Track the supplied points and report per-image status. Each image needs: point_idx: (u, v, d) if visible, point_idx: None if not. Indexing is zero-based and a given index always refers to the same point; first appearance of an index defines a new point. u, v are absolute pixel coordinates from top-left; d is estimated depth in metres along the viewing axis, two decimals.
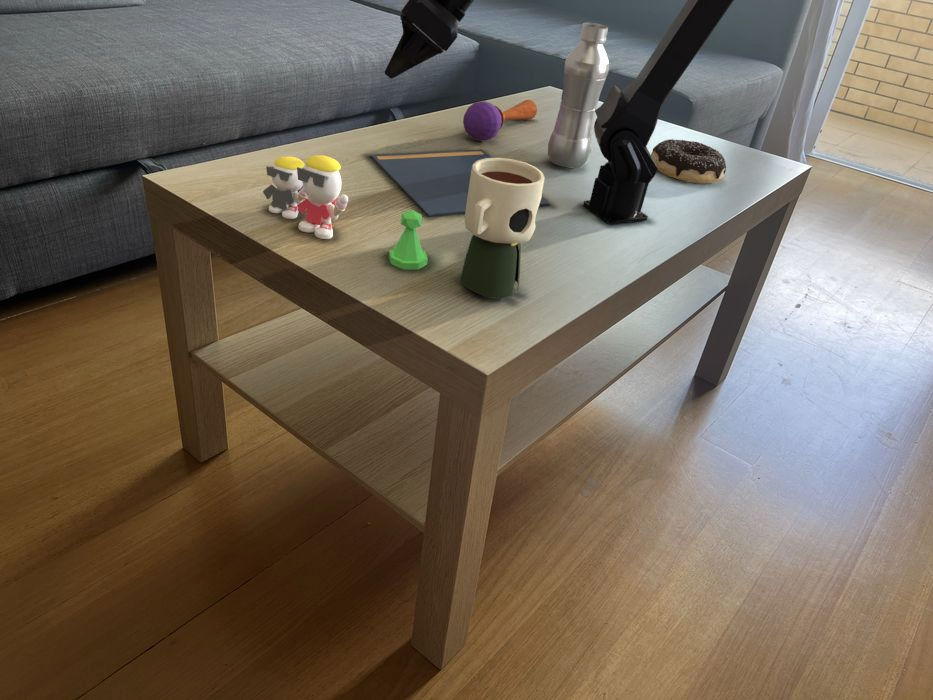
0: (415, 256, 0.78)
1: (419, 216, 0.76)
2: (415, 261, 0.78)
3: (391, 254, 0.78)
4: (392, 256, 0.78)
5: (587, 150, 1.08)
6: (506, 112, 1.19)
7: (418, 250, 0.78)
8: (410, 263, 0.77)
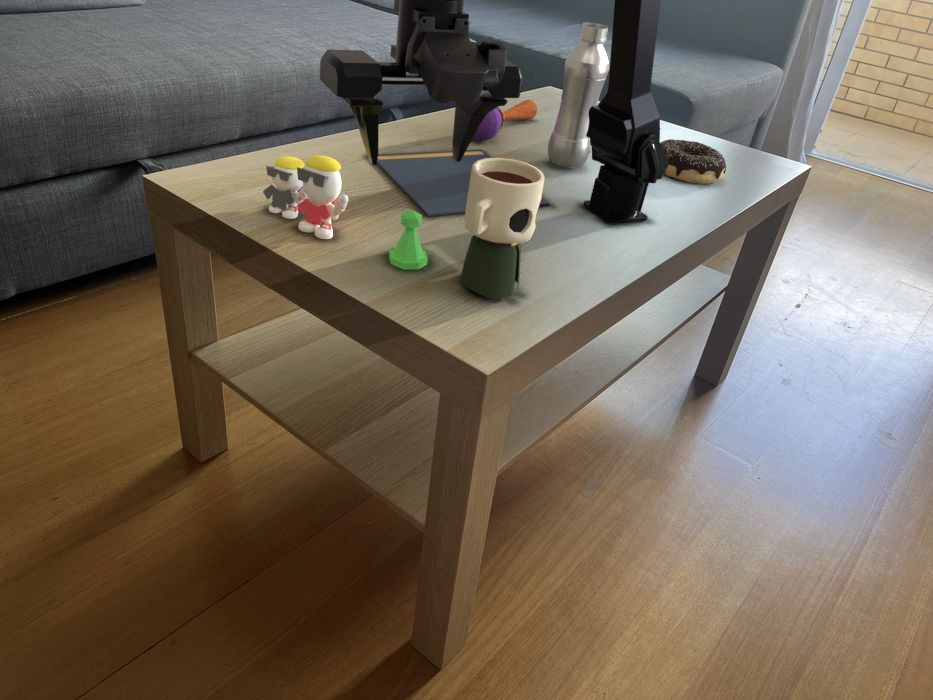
0: (415, 256, 0.78)
1: (419, 216, 0.76)
2: (415, 261, 0.78)
3: (391, 254, 0.78)
4: (392, 256, 0.78)
5: (587, 150, 1.08)
6: (506, 112, 1.19)
7: (418, 250, 0.78)
8: (410, 263, 0.77)
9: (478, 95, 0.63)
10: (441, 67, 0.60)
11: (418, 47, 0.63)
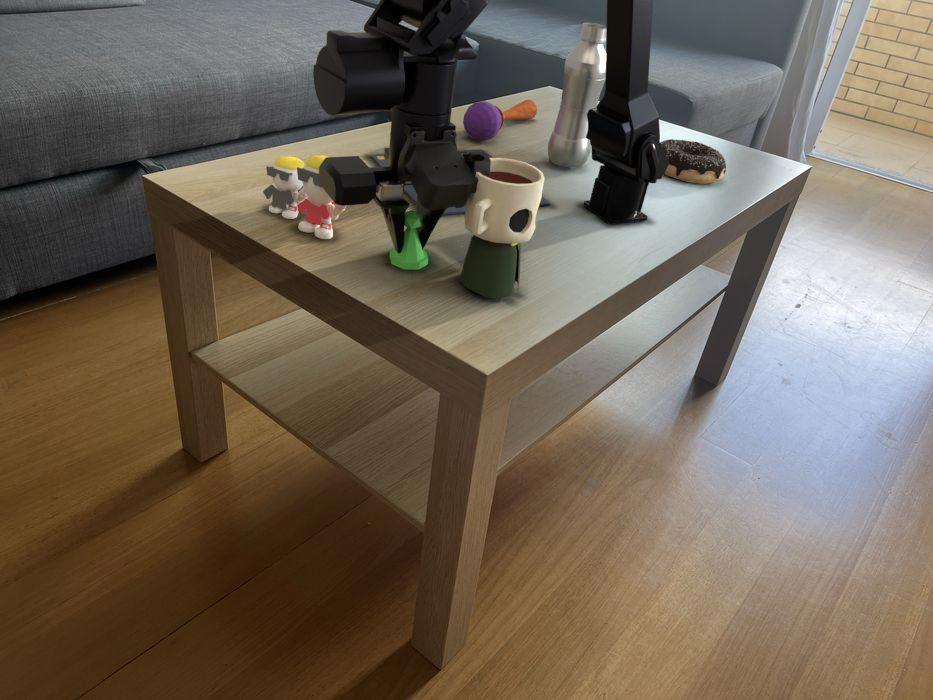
0: (416, 256, 0.78)
1: (419, 216, 0.76)
2: (416, 261, 0.78)
3: (392, 254, 0.78)
4: (393, 256, 0.78)
5: (587, 150, 1.08)
6: (506, 112, 1.19)
7: (418, 250, 0.78)
8: (410, 263, 0.77)
9: (465, 201, 0.69)
10: (431, 181, 0.66)
11: (409, 158, 0.68)
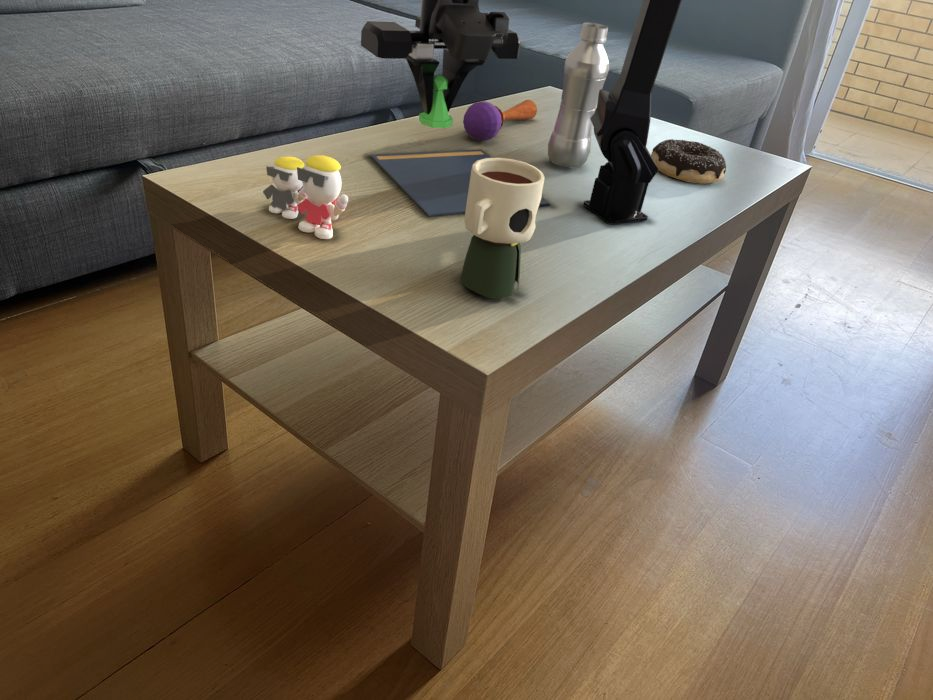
0: (442, 116, 0.90)
1: (446, 79, 0.88)
2: (442, 120, 0.90)
3: (421, 116, 0.90)
4: (422, 117, 0.90)
5: (587, 150, 1.08)
6: (506, 112, 1.19)
7: (445, 111, 0.90)
8: (438, 122, 0.89)
9: (487, 54, 0.81)
10: (460, 31, 0.78)
11: (440, 17, 0.80)
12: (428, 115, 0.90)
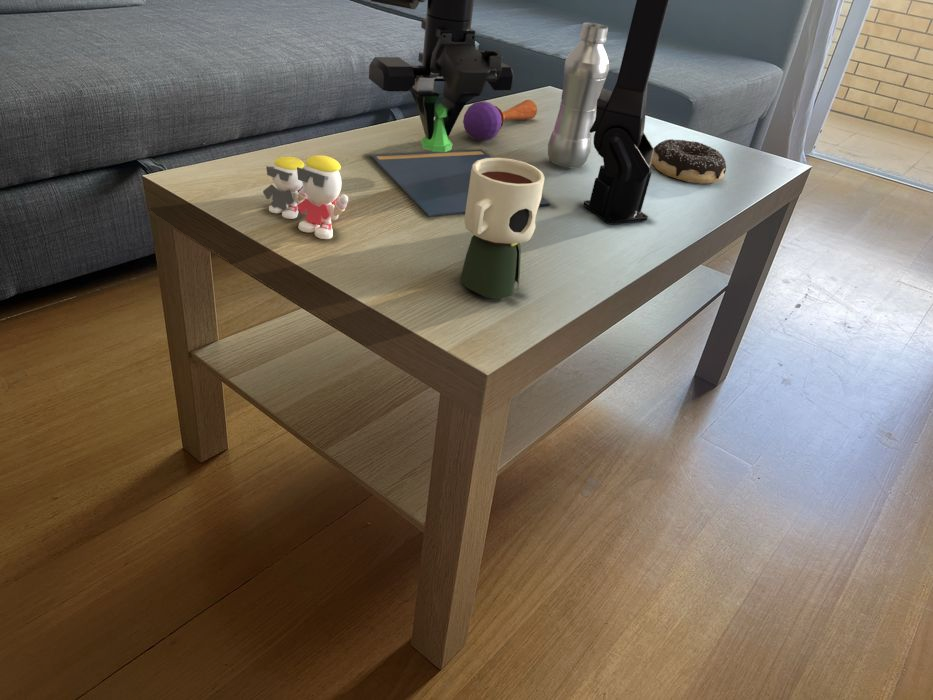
0: (442, 141, 0.99)
1: (445, 108, 0.97)
2: (442, 145, 0.99)
3: (423, 140, 0.99)
4: (424, 142, 0.99)
5: (587, 150, 1.08)
6: (506, 112, 1.19)
7: (444, 137, 0.99)
8: (438, 146, 0.98)
9: (482, 88, 0.90)
10: (457, 68, 0.87)
11: (440, 55, 0.89)
12: (429, 140, 0.99)
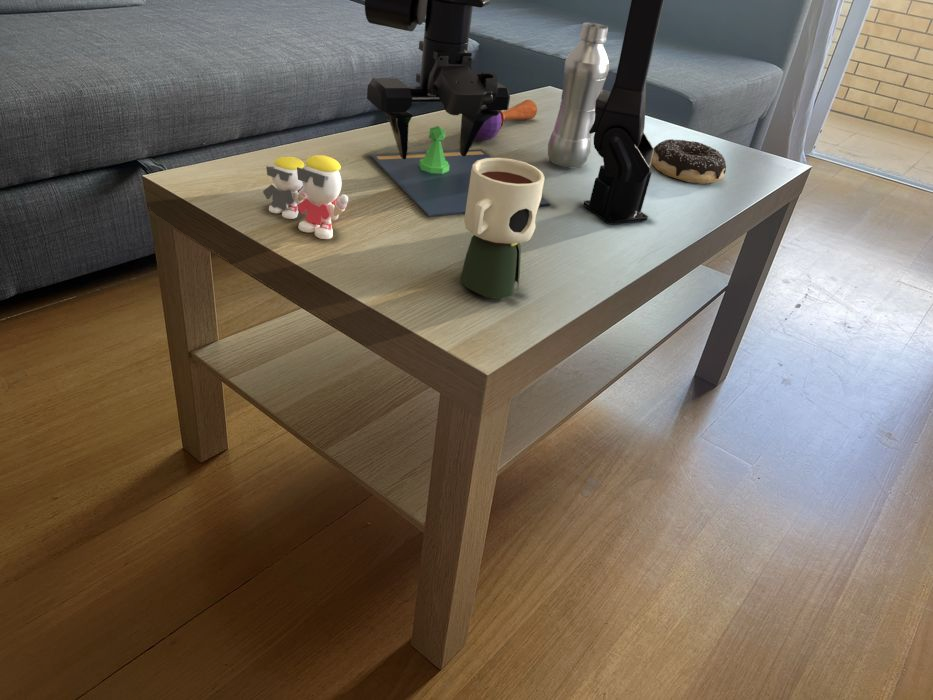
0: (440, 163, 1.00)
1: (443, 131, 0.99)
2: (440, 167, 1.00)
3: (421, 162, 1.01)
4: (422, 163, 1.01)
5: (587, 150, 1.08)
6: (506, 112, 1.19)
7: (442, 158, 1.00)
8: (436, 168, 1.00)
9: (479, 109, 0.91)
10: (454, 91, 0.88)
11: (437, 77, 0.91)
12: (427, 162, 1.00)
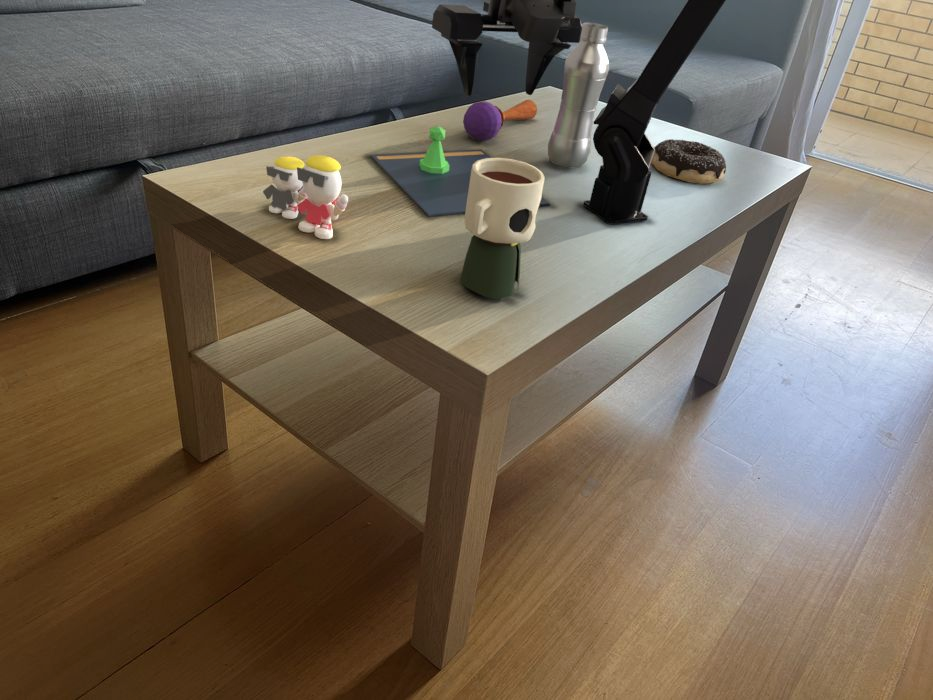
0: (440, 163, 1.00)
1: (443, 131, 0.99)
2: (440, 167, 1.00)
3: (421, 162, 1.01)
4: (422, 163, 1.01)
5: (587, 150, 1.08)
6: (506, 112, 1.19)
7: (442, 158, 1.00)
8: (436, 168, 1.00)
9: (555, 36, 0.85)
10: (531, 14, 0.82)
11: (510, 1, 0.84)
12: (427, 162, 1.00)
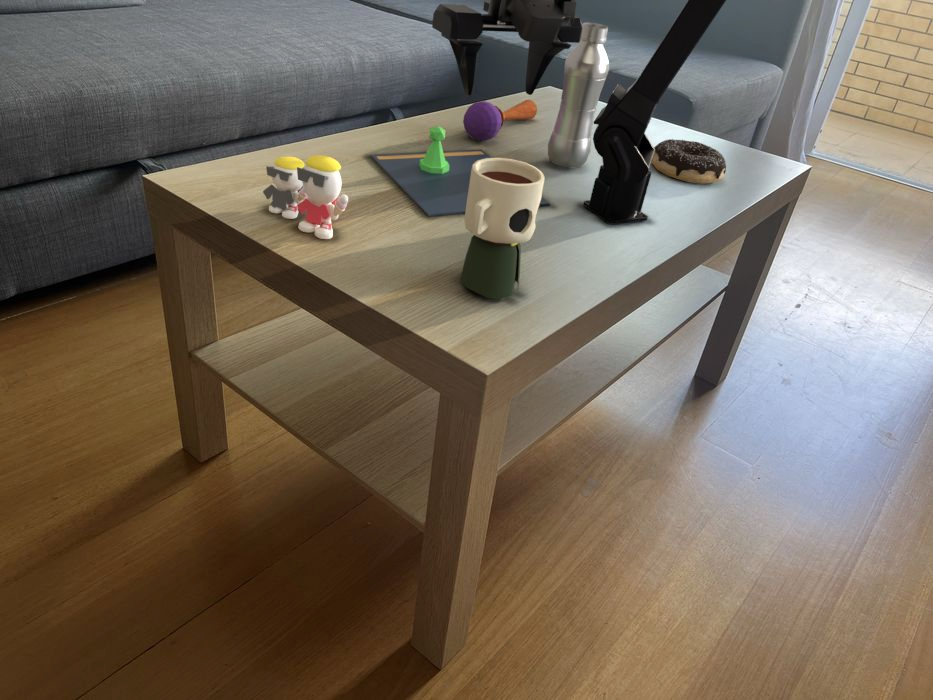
0: (440, 163, 1.00)
1: (443, 131, 0.99)
2: (440, 167, 1.00)
3: (421, 162, 1.01)
4: (422, 163, 1.01)
5: (587, 150, 1.08)
6: (506, 112, 1.19)
7: (442, 158, 1.00)
8: (436, 168, 1.00)
9: (555, 36, 0.85)
10: (531, 13, 0.81)
11: (510, 0, 0.84)
12: (427, 162, 1.00)
